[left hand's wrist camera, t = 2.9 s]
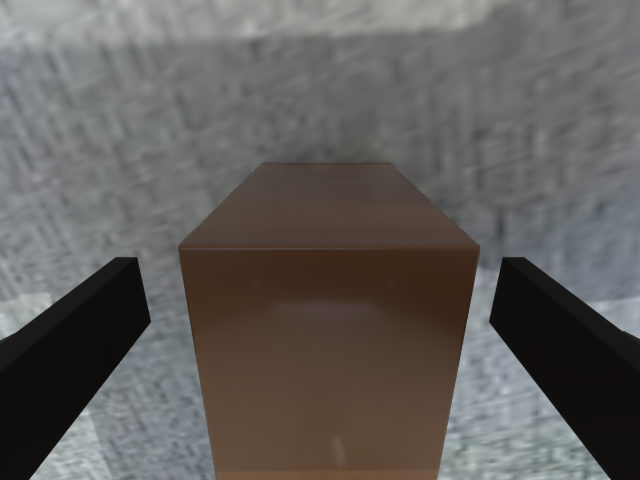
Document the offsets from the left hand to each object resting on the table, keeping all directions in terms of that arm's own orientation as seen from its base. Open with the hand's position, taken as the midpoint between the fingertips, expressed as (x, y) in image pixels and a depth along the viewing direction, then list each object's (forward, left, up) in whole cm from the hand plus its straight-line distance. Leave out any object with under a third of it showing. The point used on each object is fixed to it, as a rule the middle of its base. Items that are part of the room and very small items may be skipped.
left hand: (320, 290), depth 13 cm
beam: (+18, +13, -3) cm, 23 cm away
